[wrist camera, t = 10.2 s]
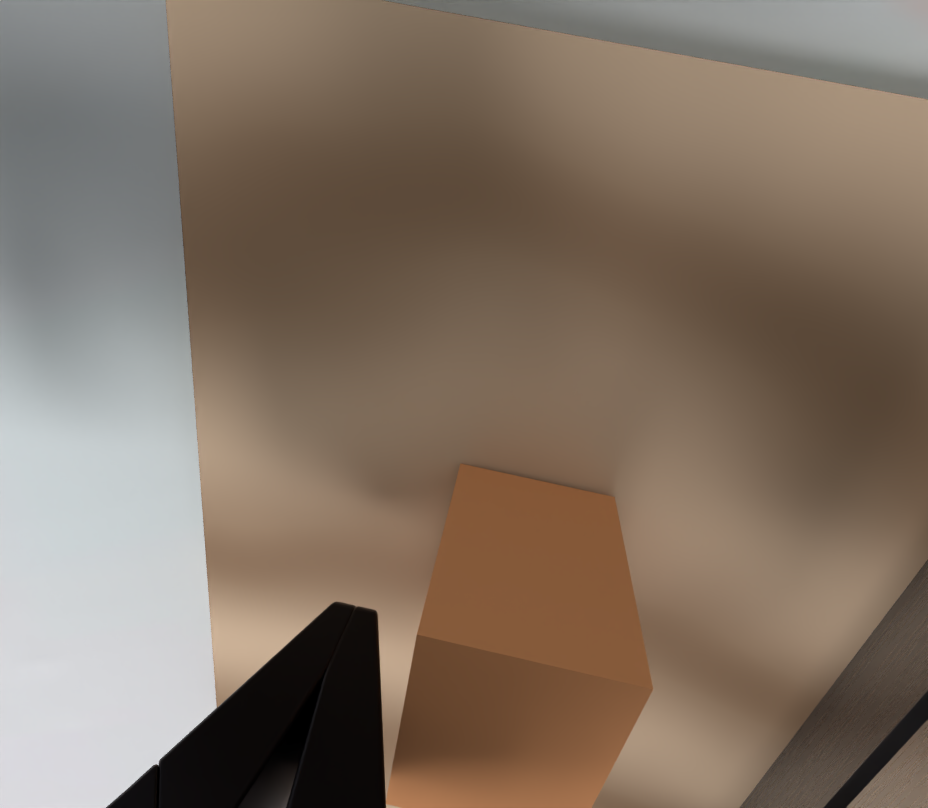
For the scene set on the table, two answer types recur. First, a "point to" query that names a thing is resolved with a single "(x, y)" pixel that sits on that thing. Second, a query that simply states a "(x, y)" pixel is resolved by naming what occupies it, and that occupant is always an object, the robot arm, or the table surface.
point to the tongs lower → (858, 715)
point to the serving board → (555, 344)
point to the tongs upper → (900, 778)
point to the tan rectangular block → (521, 652)
